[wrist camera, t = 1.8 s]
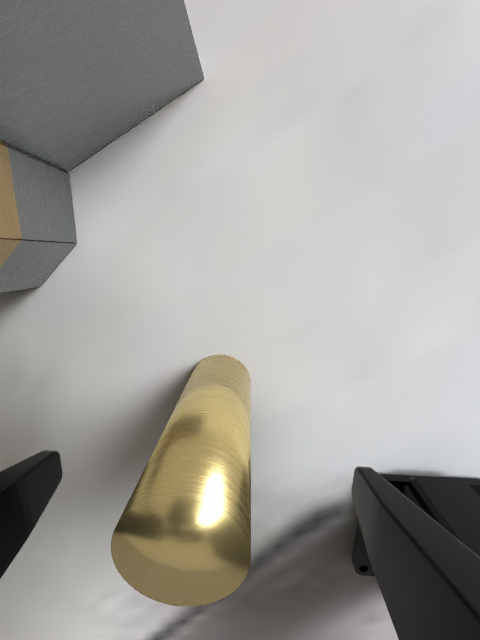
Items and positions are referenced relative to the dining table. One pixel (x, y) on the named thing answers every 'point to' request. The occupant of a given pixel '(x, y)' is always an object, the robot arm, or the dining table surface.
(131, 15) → the hinge
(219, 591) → the hinge pin
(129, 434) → the dining table surface
